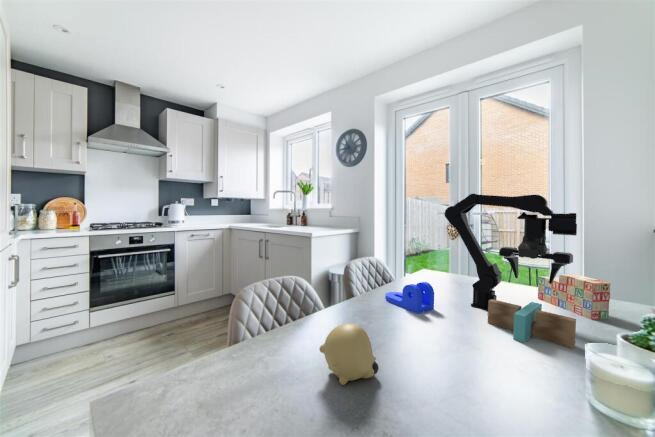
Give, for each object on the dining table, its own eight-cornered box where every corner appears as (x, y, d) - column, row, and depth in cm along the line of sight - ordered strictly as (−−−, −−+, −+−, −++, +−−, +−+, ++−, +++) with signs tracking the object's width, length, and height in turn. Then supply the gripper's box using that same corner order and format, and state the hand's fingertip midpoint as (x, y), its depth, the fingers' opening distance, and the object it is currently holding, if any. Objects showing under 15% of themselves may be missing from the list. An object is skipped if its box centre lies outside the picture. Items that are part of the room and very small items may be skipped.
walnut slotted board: (487, 323, 86) (488, 300, 85) (490, 321, 87) (491, 299, 87) (573, 348, 70) (574, 321, 70) (575, 345, 72) (576, 318, 72)
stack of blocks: (537, 299, 111) (538, 268, 111) (551, 298, 112) (552, 268, 111) (591, 320, 90) (593, 282, 89) (609, 319, 90) (611, 282, 90)
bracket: (433, 309, 97) (434, 284, 97) (417, 314, 93) (418, 287, 92) (396, 295, 112) (396, 273, 112) (380, 299, 108) (381, 276, 108)
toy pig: (361, 407, 53) (397, 362, 56) (325, 371, 49) (364, 326, 52) (339, 377, 62) (370, 340, 65) (306, 345, 58) (341, 307, 61)
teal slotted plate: (530, 324, 85) (531, 301, 85) (540, 327, 83) (541, 304, 83) (513, 339, 75) (514, 313, 75) (524, 342, 73) (525, 316, 73)
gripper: (493, 232, 92) (492, 278, 93) (566, 237, 78) (564, 291, 79) (505, 231, 100) (504, 274, 100) (574, 235, 85) (572, 285, 86)
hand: (532, 280), depth 91 cm, fingers open, 9 cm apart
